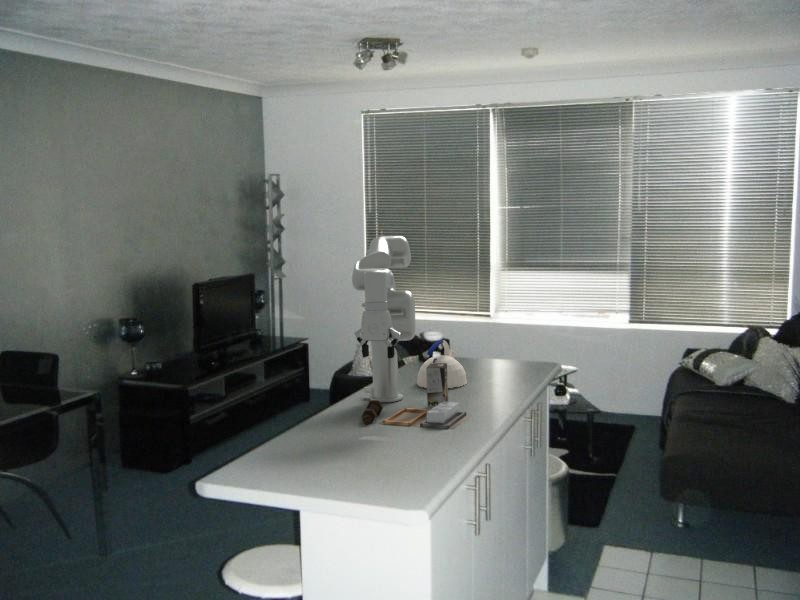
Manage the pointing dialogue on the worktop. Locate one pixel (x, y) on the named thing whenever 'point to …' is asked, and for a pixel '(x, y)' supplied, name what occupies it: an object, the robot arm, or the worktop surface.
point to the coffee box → (436, 384)
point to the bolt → (372, 411)
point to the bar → (443, 413)
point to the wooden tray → (420, 419)
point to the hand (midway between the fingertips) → (378, 357)
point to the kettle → (453, 367)
